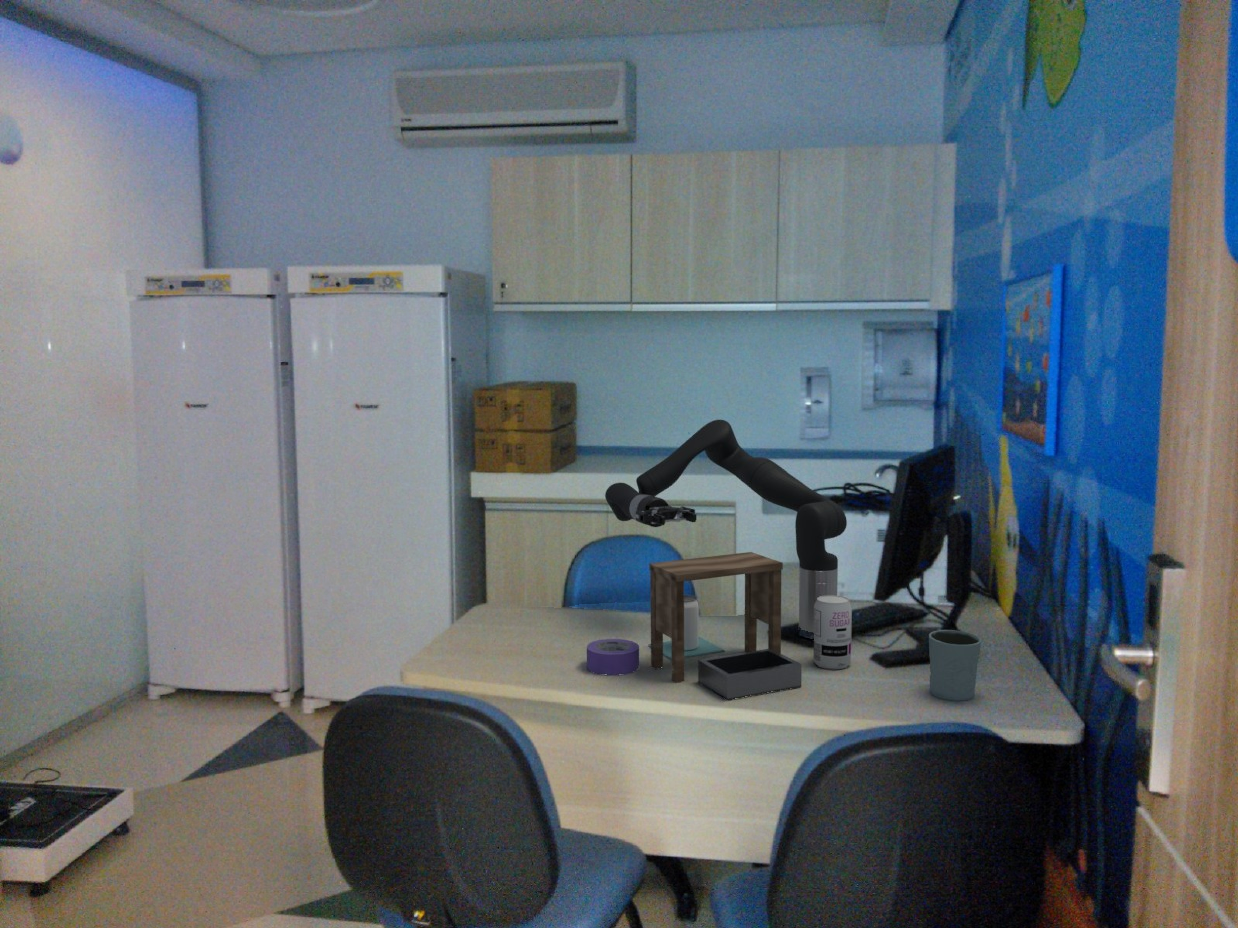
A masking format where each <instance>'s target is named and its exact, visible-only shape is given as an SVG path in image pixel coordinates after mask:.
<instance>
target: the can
mask: <svg viewBox="0 0 1238 928" xmlns="http://www.w3.org/2000/svg"><path fill="white" fill-rule="evenodd" d="M697 598H698V597H696V595H690V594H684V651H691V650H695V649H697V647H698V646H699V637H700V636H699V634H700V631H699V629H700V628H699V627H700V625H699V622H700V621H699V614H700V613H699V611H700V610H699V603H698V601H697ZM670 639H671V638H670ZM670 641H671V645H672V639H671V640H670Z"/></svg>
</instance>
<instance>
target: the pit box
mask: <svg viewBox="0 0 1238 928" xmlns="http://www.w3.org/2000/svg"><path fill="white" fill-rule="evenodd" d="M697 664H698V665H697V678H698V679H697V681H698V682H697V683H698V684H700V685H701V684H702V686H703V687H704V688H706V689H708V690H709V691H711V692H712V691H713V692H712V693H713V694H716V695H717V696H719V697H720V698H722V699H724V698H725V699H726V700H725V699H724V700H725V701H727V700H728V701H731V700H730V699H734V700H736V699H735V698H739V699H743V698H742V697H744V698H746V697H745V696H750V695H755V696H759V695H758V694H761V695H763V694H762V693H766V694H768V693H767V692H771V691H777V692H781V691H780V690H783V691H787V690H786V689H788V690H791V689H790V688H794V689H798V687H799V688H802V678H803V677H802V671H803V670H802V667H803V666H802V665H803V664H802V663H801V662H798V661H797V660H795V659H792V658H790V657H788V656H786V655H784V654H782V653H781V654H780V653H778V652H776V651H774V650H772V649H770V648H769V649H768V648H764V649H756V651H751V652H745V651H744V652H739V653H733V654H727V655H721V656H715V657H714V656H713V657H710V658H709V657H708V658H703V659H702V658H701V659H697ZM750 697H751V696H750Z"/></svg>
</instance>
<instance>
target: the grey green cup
mask: <svg viewBox="0 0 1238 928" xmlns="http://www.w3.org/2000/svg"><path fill="white" fill-rule="evenodd" d="M981 644H982V640H981V638H980V637H979V636H978V635H976V634H975V633H970V632H968V631H962V630H953V629H951V630H950V629H939V630H934V631H931V632H930V633H929V634H928V647H929V652H928V653H929V654H928V655H929V656H928V657H929V670H930V671H929V672H930V674H929V691H930V694H931V695H932V696H934V697H937V698H939V699H942V700H947V701H954V702H956V701H957V702H959V701H968V700H972V699H973V698H974V697H975V691H976V683H977V681H976V679H977V674H978V673H977V672H978V663H979V659H980V657H979V656H980V653H981V646H982V645H981Z"/></svg>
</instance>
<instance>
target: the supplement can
mask: <svg viewBox="0 0 1238 928" xmlns="http://www.w3.org/2000/svg"><path fill="white" fill-rule="evenodd" d="M852 609H853V606H852V604H851V602H850V599H849V598H848V597H846V596H843V595H842V596H841V595H837V596H835V595H827V596H820V597H818V598H817V601H816V602H815V604H814V640H813V662H814V664H815V665H817V667H819V668H822V669H826V670H842V669H846V668H847V667H849V665H851V663H852V662H851V661H852V658H851V657H852V613H853V610H852Z"/></svg>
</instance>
